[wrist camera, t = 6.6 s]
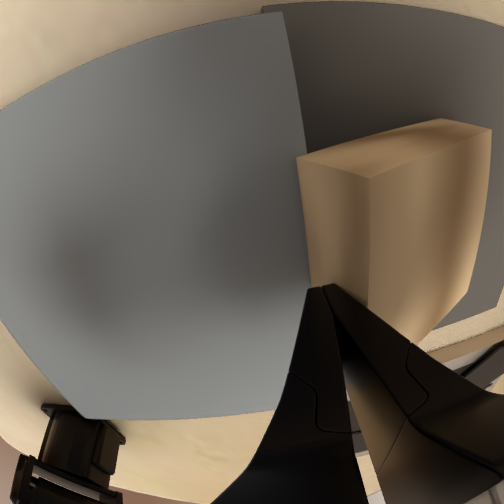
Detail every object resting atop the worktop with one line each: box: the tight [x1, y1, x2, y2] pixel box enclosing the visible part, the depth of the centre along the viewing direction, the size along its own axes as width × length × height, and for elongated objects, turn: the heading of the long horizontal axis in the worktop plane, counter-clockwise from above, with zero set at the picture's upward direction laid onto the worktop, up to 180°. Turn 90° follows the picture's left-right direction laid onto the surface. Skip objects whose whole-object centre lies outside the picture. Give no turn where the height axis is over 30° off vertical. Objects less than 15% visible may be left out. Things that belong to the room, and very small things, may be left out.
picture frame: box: [346, 326, 504, 457], centre depth 23 cm, size 16×3×21 cm
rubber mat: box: [261, 1, 504, 331], centre depth 13 cm, size 14×18×1 cm
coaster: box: [296, 118, 492, 345], centre depth 10 cm, size 8×8×2 cm
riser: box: [0, 11, 312, 420], centre depth 12 cm, size 14×16×4 cm
